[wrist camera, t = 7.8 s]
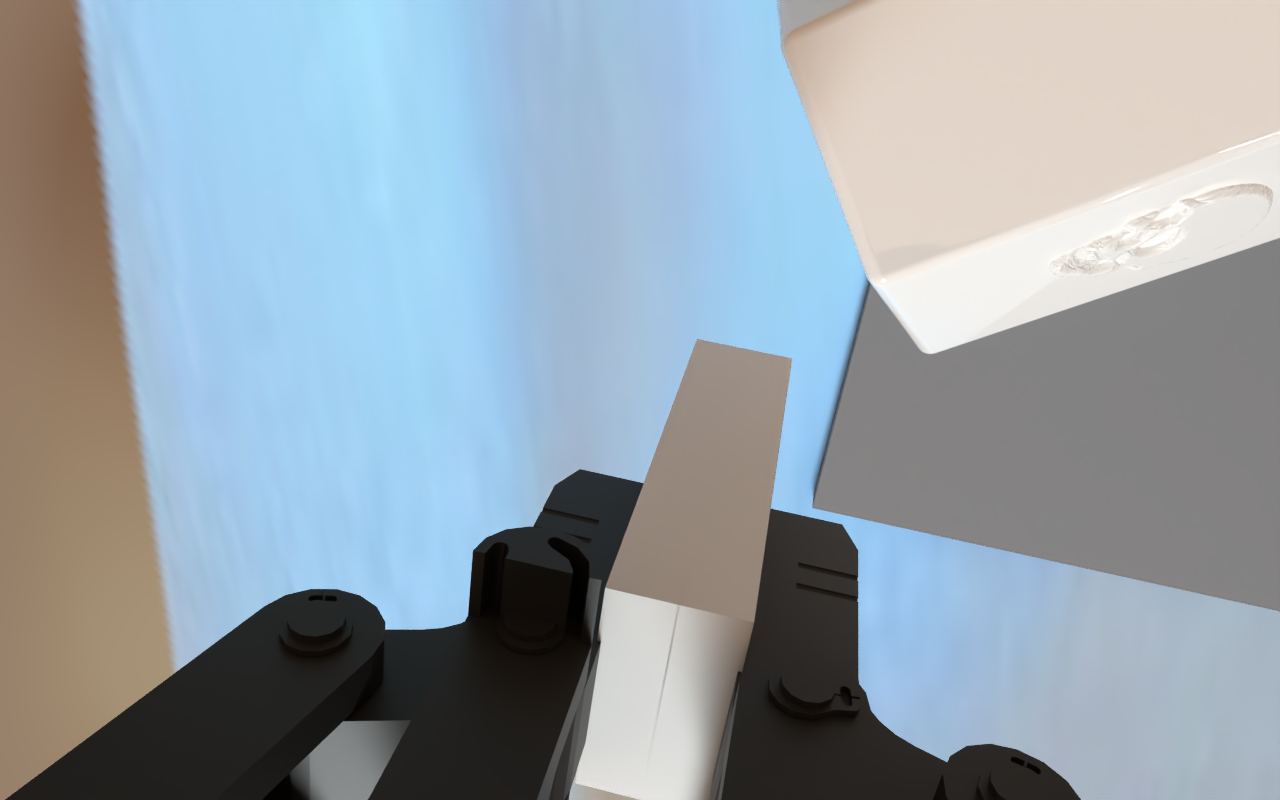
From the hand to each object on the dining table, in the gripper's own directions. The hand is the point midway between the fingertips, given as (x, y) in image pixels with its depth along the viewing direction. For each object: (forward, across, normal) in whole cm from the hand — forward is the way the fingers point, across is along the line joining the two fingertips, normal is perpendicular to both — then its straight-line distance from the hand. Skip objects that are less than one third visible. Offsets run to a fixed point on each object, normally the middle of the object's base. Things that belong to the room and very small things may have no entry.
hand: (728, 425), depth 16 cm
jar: (+7, -1, -3) cm, 8 cm away
